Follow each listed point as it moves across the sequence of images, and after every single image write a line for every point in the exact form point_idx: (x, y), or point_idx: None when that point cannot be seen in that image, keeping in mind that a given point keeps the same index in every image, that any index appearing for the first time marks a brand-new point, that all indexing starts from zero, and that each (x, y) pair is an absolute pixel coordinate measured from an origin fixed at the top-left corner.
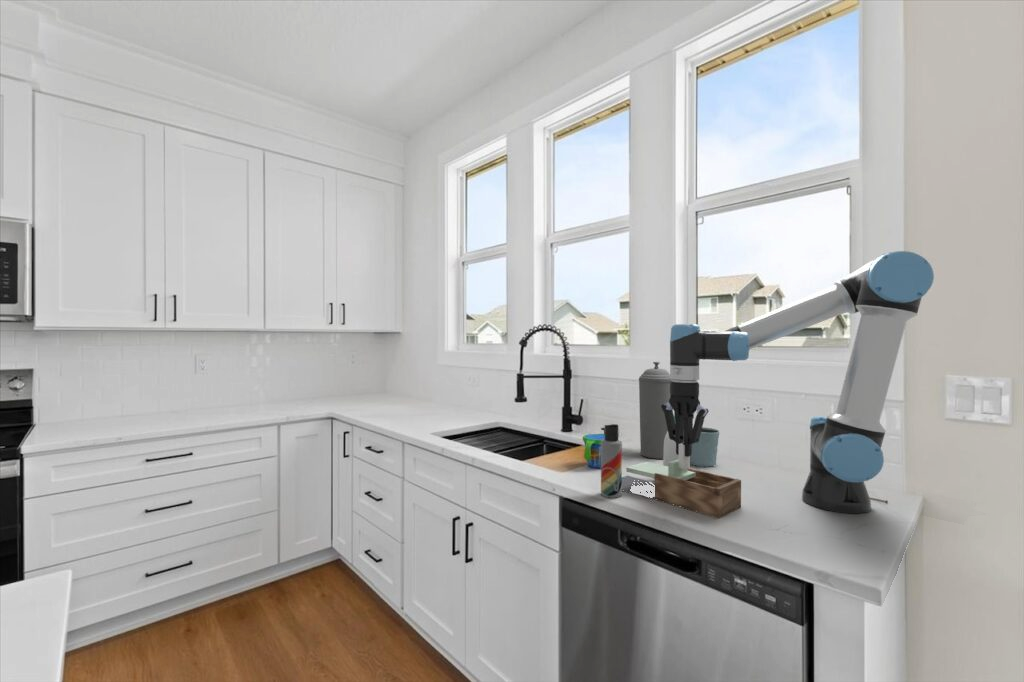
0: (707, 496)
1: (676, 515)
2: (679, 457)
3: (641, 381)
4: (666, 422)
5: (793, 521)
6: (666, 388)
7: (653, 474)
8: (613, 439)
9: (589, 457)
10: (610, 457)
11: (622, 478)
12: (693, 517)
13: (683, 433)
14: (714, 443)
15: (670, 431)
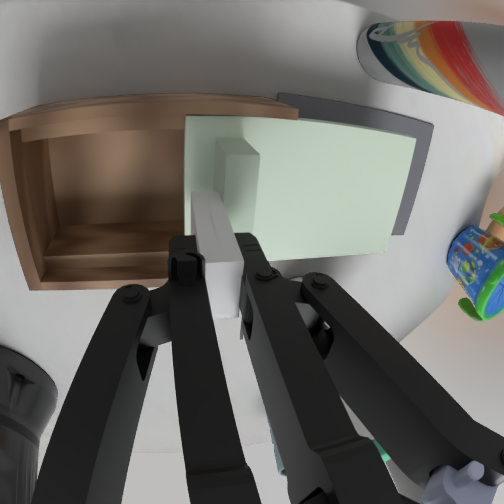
0: (47, 108)
1: (135, 19)
2: (220, 214)
3: None
4: (414, 361)
5: None
6: (421, 501)
7: (306, 120)
8: None
9: (495, 216)
10: (470, 23)
11: (407, 204)
12: (88, 48)
13: (253, 361)
14: (277, 448)
15: (346, 314)
